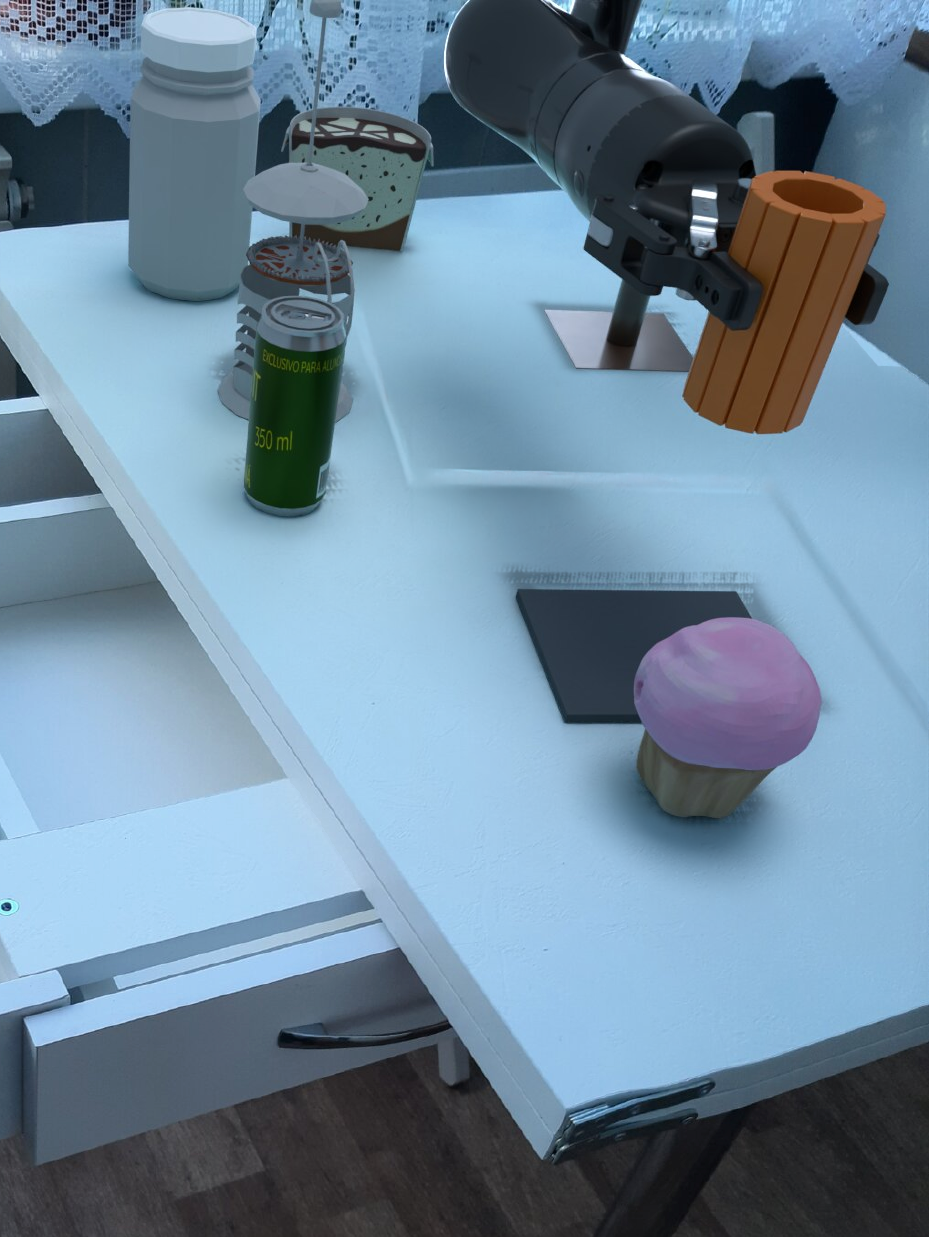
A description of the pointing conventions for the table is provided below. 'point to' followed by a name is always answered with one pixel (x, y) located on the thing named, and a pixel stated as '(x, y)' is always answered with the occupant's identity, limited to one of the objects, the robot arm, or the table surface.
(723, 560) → the table surface
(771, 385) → the orange hollow cylinder
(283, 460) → the beer can
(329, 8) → the french press
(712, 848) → the table surface
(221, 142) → the jar
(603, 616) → the mat
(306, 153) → the food container
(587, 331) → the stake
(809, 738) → the cupcake
